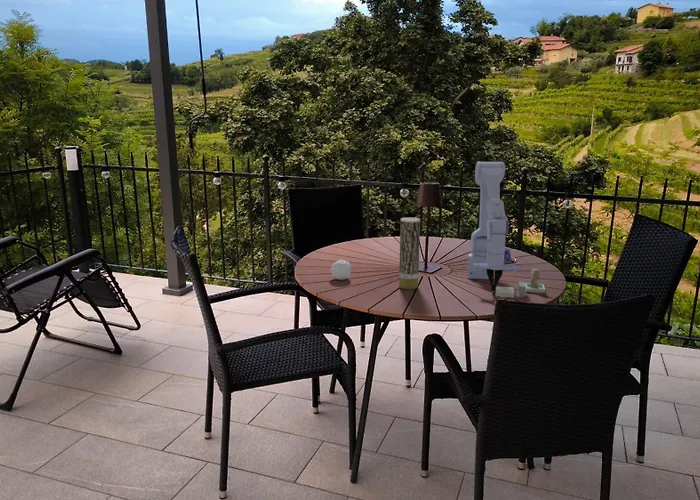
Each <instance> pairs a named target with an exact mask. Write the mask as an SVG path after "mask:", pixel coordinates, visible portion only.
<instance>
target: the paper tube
mask: <svg viewBox="0 0 700 500" xmlns="http://www.w3.org/2000/svg"><path fill="white" fill-rule="evenodd" d="M399 231H400V232H399V271H398V273H399V274H398V275H399V277H398V279H399V280H398V281H399V282H398V283H399V284H398V286H399V288H400V289H403V290H410V291H411V290H415V289H417V288H418V287H419V265H420V237H421V234H420V232H421V218H418V217H401V218H400V228H399Z"/></svg>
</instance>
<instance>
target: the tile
mask: <svg viewBox="0 0 700 500" xmlns="http://www.w3.org/2000/svg"><path fill="white" fill-rule="evenodd" d="M495 291H496V293H495V297H496V296H500V297H499V298H505V297H514V298H515V289H514V287H512V286H498V285H497V286H496V290H495ZM495 291H494V292H495Z"/></svg>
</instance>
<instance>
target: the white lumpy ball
mask: <svg viewBox="0 0 700 500" xmlns="http://www.w3.org/2000/svg"><path fill="white" fill-rule="evenodd" d="M351 272H352V265H351V263H350V262H349V261H346V260H344V259H338V260H337V261H335V262H334V263H332V265H331V266H330V275H332V277H333V278H334V279H336V280H339V281H344V280H347V279H348V278H349V277H350V275H351Z"/></svg>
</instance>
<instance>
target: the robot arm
mask: <svg viewBox="0 0 700 500" xmlns="http://www.w3.org/2000/svg"><path fill="white" fill-rule="evenodd" d="M474 168H475V170H474V171H475V172H474V181H475V184H477V185H478V186H479V188H480V192H479V193H480V197H479V219H478V220H479V223H478V228H477V229H475V230H474V231H473V232H472V234H471V237H470V242H469V243H470V246H469V248H470V252H471V253H469V254H468V265H467V266H468V267H467V270H466V272H467V279H475V280H488V281H489V283H490V291H491V292H495V290H496V286H498V283H499V281H500V280H501V278H502V276H503V272H510V273H512V272H513V273H517V271H518V266H517V265H512V264H507V263H504V251H505V248H506V236H507V235H508V233H509V220H508V217H507V215H506V214H505V204H504V201H503V199H501V198H500V197H501V196H500V192H501V191H500V188H501V187H500V185H501V182H502V181H503V179H504V177H505V175H506V164H505V163H504V161H477V162H476V163H475V167H474Z"/></svg>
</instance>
